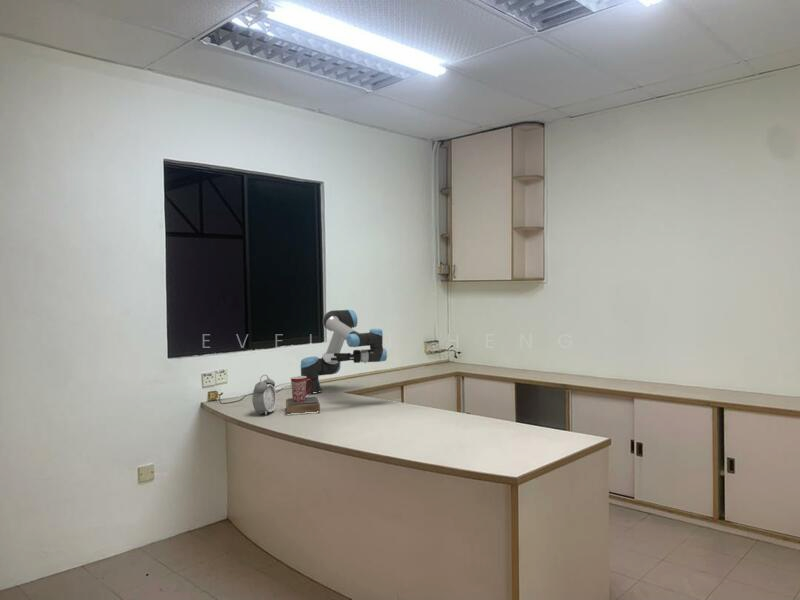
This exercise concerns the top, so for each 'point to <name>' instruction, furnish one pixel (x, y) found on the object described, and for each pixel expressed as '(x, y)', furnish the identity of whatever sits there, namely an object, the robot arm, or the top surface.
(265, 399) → the alarm clock
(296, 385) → the mug
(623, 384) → the top surface
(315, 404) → the walnut stand
